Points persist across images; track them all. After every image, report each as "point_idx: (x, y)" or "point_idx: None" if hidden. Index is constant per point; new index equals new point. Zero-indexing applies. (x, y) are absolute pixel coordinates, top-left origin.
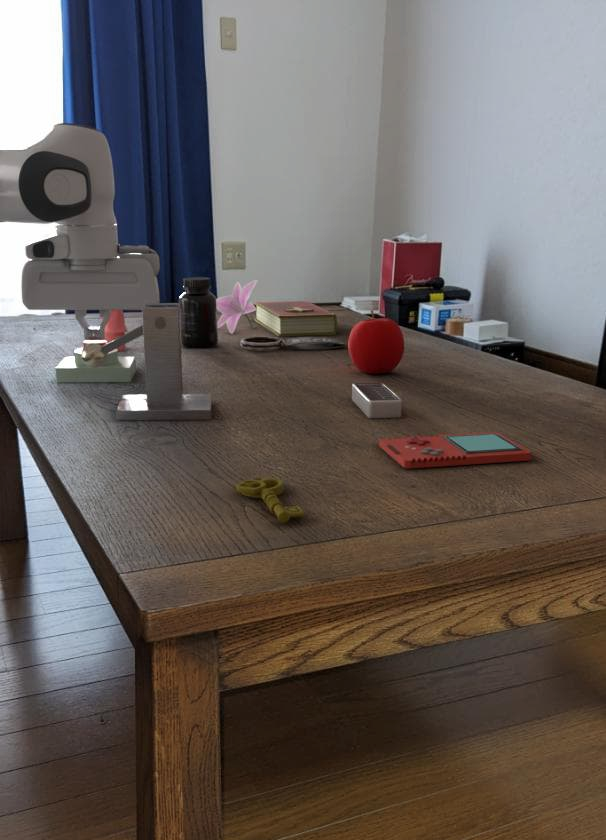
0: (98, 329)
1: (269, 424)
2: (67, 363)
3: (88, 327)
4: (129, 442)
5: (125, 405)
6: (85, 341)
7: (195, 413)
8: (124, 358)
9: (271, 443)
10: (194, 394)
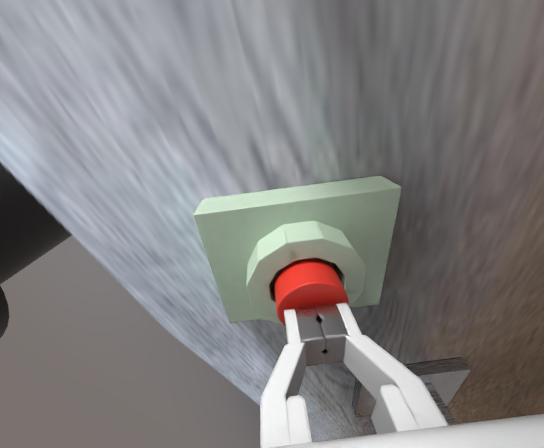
0: (341, 358)
1: (487, 395)
2: (236, 287)
3: (305, 358)
4: (363, 430)
5: (364, 407)
6: (283, 314)
7: None
8: (369, 218)
9: (465, 420)
10: (449, 373)
